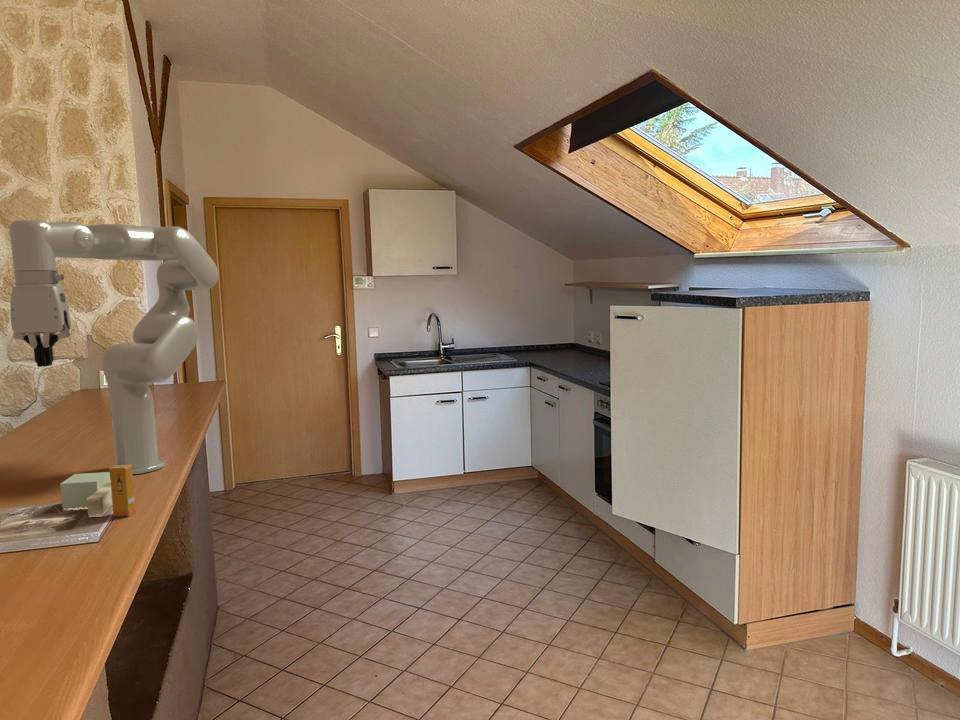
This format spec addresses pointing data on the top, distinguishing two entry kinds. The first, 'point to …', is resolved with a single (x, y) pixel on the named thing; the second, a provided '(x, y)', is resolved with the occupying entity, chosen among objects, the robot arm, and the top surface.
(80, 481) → the green block
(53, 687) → the top surface
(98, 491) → the birch board
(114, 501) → the supplement box
